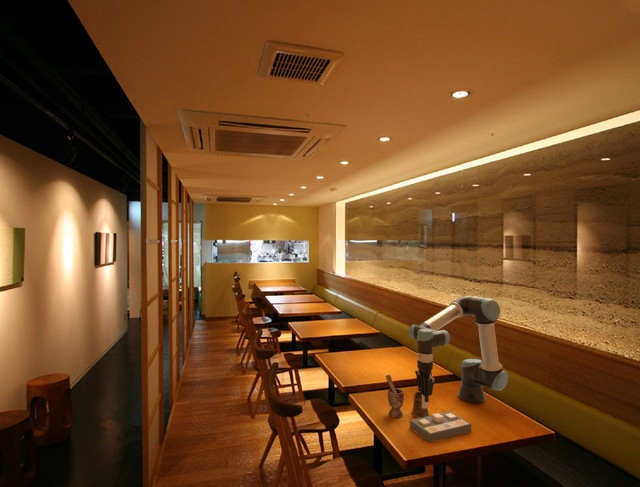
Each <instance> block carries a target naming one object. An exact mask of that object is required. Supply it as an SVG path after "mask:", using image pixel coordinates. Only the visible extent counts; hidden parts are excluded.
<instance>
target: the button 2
mask: <svg viewBox="0 0 640 487" xmlns="http://www.w3.org/2000/svg"><path fill="white" fill-rule="evenodd" d="M452 413H453V412H452ZM452 413H449V414H445V417H446V418H448V419H449V420H454V419H457V416H458V415H457V416H455V415H456V414H455V415H453V414H454V413H453V414H452Z"/></svg>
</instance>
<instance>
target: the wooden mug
mask: <svg viewBox="0 0 640 487" xmlns="http://www.w3.org/2000/svg"><path fill="white" fill-rule="evenodd" d="M429 413H430V412H429V407H428V408H422V399H421V392H420V391H415V392H414V395H413V407H412V410H411V414H412V415H413V416H415V417H417V418H421V417H427V416H430V414H429Z"/></svg>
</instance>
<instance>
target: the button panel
mask: <svg viewBox="0 0 640 487" xmlns="http://www.w3.org/2000/svg"><path fill="white" fill-rule="evenodd" d="M449 413H452V414H453V415H455V416H457V419H454V420H449V419H448V418H446V417H445V414H449ZM439 414H441V415H442V416H444V422H441V423H436V422H435V421H433V420H432V414H431V415H428V416H427V417H422V418H421V417H417V418H414V419H410V420H409V428H410V430H412V431H413V432H415V433H416V434H418V435H419V436H420V437H422V439H424V440H425V441H426V442H428V443H433V442H437V441H441V440H445V439H449V438H452V437H457V436H461V435H465V434H469V433H472V423H471V422H469V421H467V420H466V419H464V418H462V417H460V416H459V415H457V414H455V413H453V412H451V411H445V412H441V413H439ZM422 419H426V420H427V421H429V422H430V425H427V426H422V425H421V424H419V423H418V420H422Z"/></svg>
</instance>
